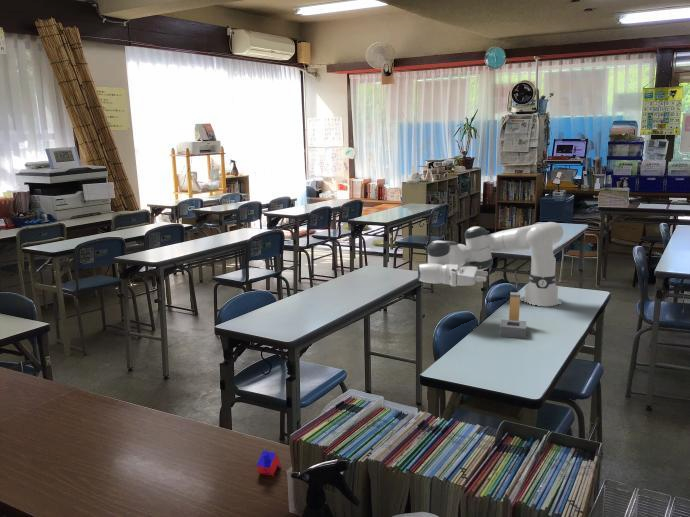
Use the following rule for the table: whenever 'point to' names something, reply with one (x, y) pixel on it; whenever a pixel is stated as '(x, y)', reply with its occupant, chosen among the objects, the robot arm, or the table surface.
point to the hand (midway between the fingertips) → (487, 276)
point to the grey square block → (513, 328)
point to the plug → (514, 306)
